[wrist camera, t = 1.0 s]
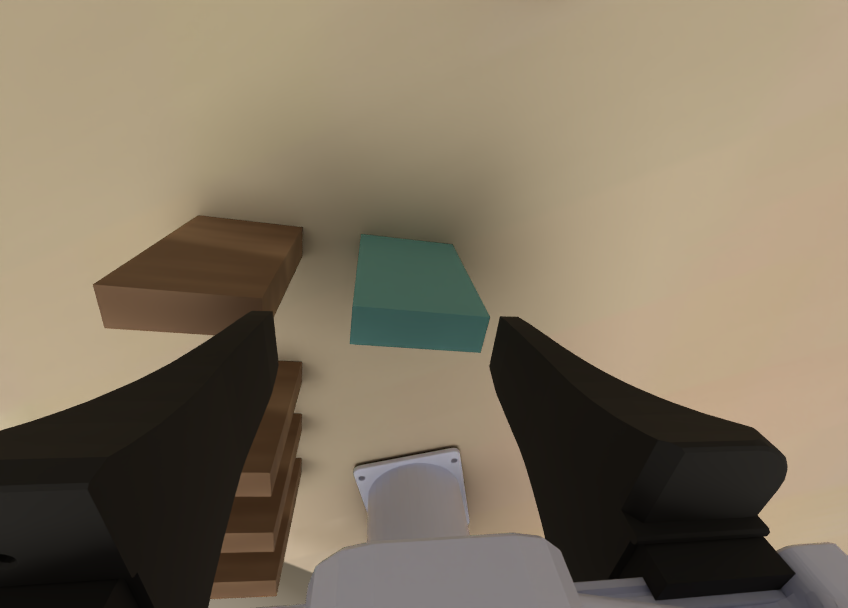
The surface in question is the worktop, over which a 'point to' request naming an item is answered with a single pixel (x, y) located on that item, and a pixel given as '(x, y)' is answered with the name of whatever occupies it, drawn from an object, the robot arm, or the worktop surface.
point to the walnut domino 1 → (202, 277)
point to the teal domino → (415, 297)
